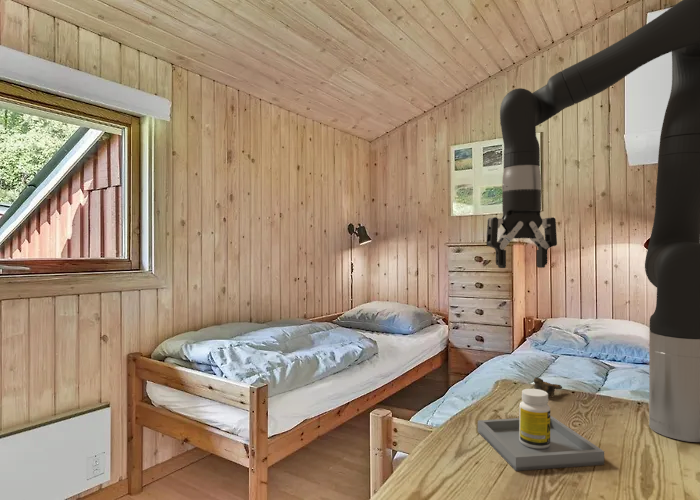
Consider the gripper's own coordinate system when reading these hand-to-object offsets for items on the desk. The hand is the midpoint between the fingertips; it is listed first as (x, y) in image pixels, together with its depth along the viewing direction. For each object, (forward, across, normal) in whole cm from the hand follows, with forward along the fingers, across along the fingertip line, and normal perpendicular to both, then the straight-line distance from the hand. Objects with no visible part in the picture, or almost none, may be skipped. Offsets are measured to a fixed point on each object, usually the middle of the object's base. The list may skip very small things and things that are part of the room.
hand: (521, 267), depth 95 cm
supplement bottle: (+28, -8, -20) cm, 35 cm away
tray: (+28, -8, -20) cm, 35 cm away
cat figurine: (+28, +8, +3) cm, 30 cm away
